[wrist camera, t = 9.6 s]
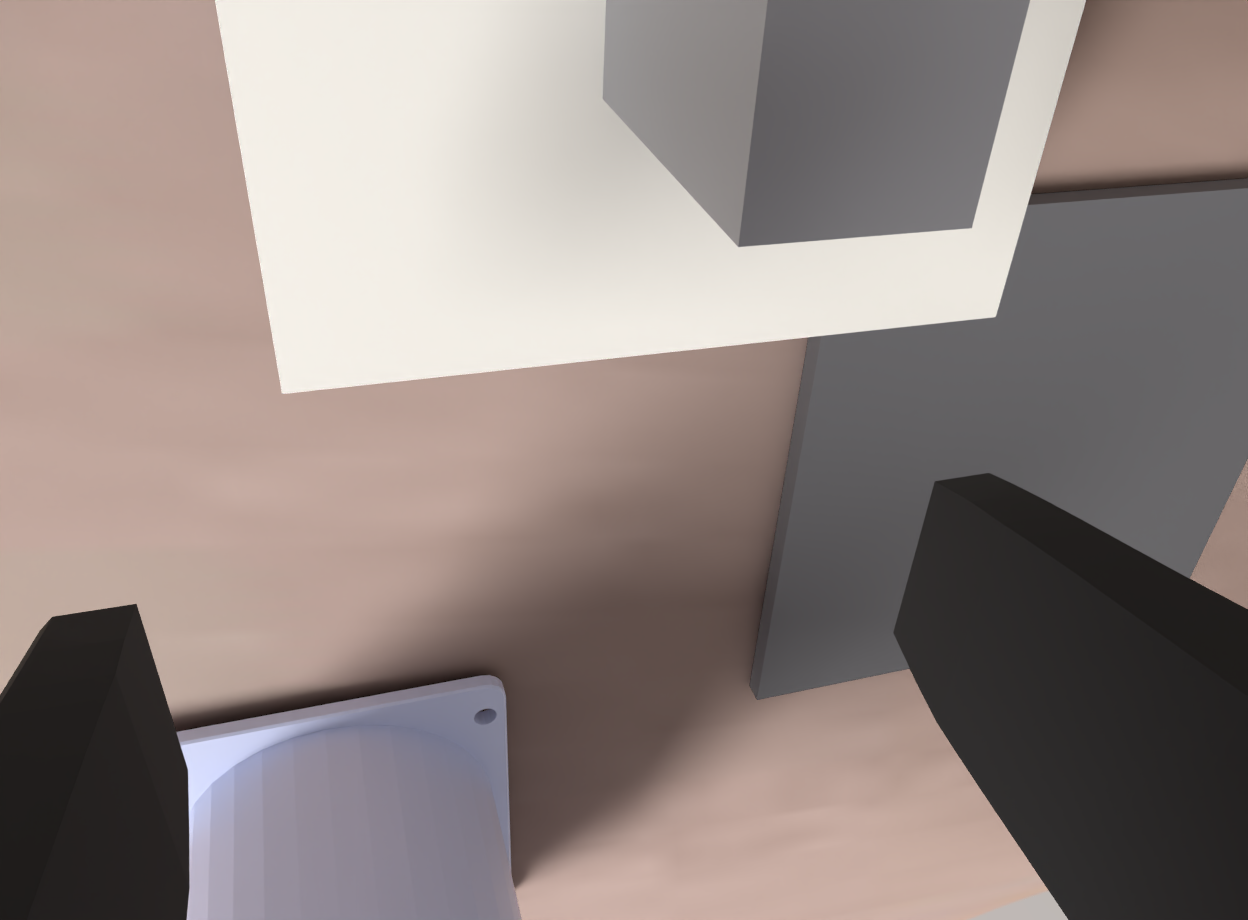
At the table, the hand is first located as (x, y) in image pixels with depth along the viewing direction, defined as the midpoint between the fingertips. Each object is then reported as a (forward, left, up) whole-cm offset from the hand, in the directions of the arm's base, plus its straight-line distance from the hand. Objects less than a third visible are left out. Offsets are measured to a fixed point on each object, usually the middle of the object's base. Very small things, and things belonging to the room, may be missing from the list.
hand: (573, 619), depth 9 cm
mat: (-7, -14, -10) cm, 19 cm away
